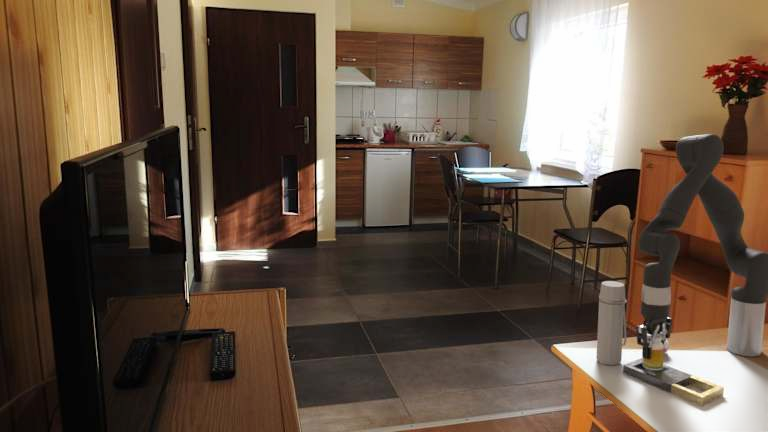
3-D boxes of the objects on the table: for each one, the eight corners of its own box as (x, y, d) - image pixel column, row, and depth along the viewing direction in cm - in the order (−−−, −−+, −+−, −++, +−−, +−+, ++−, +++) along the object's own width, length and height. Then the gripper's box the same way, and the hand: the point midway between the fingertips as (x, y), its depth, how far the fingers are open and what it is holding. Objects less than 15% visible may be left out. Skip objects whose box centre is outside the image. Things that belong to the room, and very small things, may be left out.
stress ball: (649, 358, 183) (637, 340, 184) (672, 346, 181) (660, 329, 181) (652, 366, 176) (640, 348, 176) (676, 355, 173) (664, 337, 174)
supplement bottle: (665, 371, 160) (666, 339, 158) (644, 370, 161) (646, 338, 159) (659, 363, 165) (661, 332, 163) (640, 362, 166) (641, 331, 165)
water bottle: (605, 368, 169) (609, 288, 165) (590, 357, 177) (594, 281, 172) (632, 365, 171) (637, 286, 167) (617, 354, 178) (620, 278, 174)
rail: (643, 364, 171) (644, 357, 170) (723, 396, 151) (723, 387, 150) (622, 372, 166) (623, 365, 165) (701, 406, 146) (702, 397, 145)
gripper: (658, 291, 166) (656, 345, 169) (628, 301, 159) (625, 357, 162) (683, 298, 160) (680, 354, 163) (652, 308, 153) (649, 366, 156)
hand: (653, 355), depth 162 cm, fingers closed on supplement bottle, 5 cm apart
